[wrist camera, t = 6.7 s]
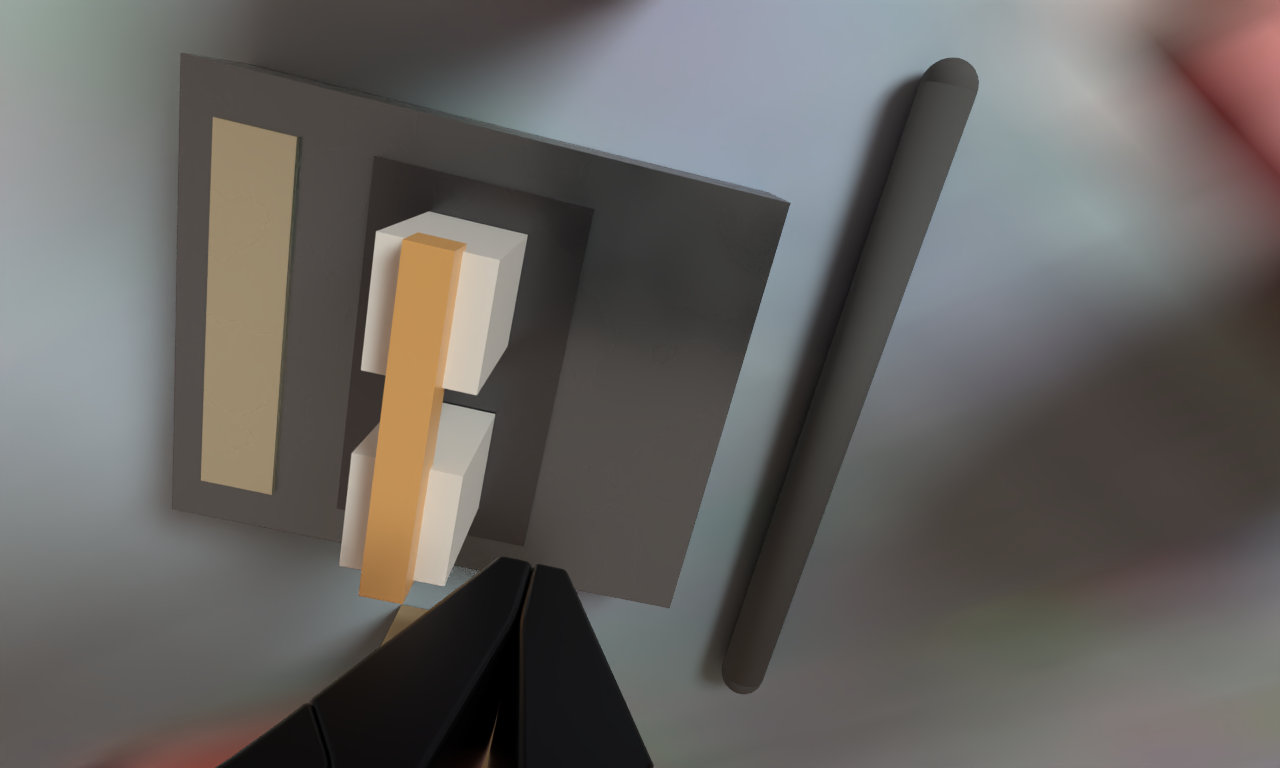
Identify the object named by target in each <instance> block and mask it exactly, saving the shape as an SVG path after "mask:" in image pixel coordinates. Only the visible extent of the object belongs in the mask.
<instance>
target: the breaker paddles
mask: <svg viewBox="0 0 1280 768" xmlns="http://www.w3.org/2000/svg"><path fill="white" fill-rule="evenodd" d="M527 237H528V235H527V234H523V233H518V232H514V231H510V230H506V229H501V228H497V227H493V226H489V225H485V224H480V223H476V222H472V221H468V220H463V219H459V218H455V217H451V216H446V215H442V214H438V213H434V212H430V211H429V212H426V213H423V214H421V215H418V216H415V217H413V218H410V219H408V220H405V221H402V222H400V223H397V224H394V225H392V226H389V227H386V228H384V229H381V230H378V231H376V237H375V246H374V255H373V264H372V273H371V282H370V291H369V300H368V309H367V318H366V328H365V337H364V346H363V355H362V364H361V370H362V371H367V372H372V373H376V374H381V375H385V376H386V377H385V385H384V394H383V402H382V410H381V418H380V422H379V423H378V424H377V426H376V427H375V428H374V429H373V430H372V431H371V432H370V433H369V434H368V436H367V437H366V438H365V439H364V440H363V441H362V442H361V443H360V444H359V446H358V447H357V448H356V449H355V450H354V451H353V452H352V454H351V464H350V473H349V482H348V491H347V500H346V509H345V518H344V527H343V536H342V545H341V554H340V563H339V566H343V567H349V568H354V569H359V570H362V573H361V581H360V589H359V596H363V597H368V598H373V599H378V600H383V601H388V602H394V603H399V604H403V602H404V600H405V598H406V596H407V594H408V592H409V590H410V588H411V586H412V584H413V583H414V581H419V582H425V583H430V584H435V585H440V586H445V584H446V582H447V579H448V577H449V575H450V572H451V570H452V568H453V566H454V563H455V561H456V559H457V556H458V554H459V552H460V549H461V547H462V545H463V542H464V540H465V538H466V536H467V533H468V531H469V529H470V526H471V524H472V522H473V519H474V517H475V515H476V513H477V510H478V508H479V502H480V497H481V491H482V485H483V480H484V474H485V469H486V463H487V458H488V452H489V447H490V441H491V436H492V430H493V425H494V419H495V414H492V413H488V412H483V411H479V410H474V409H469V408H465V407H460V406H455V405H451V404H446V403H443V396H444V390H445V389H449V390H454V391H459V392H463V393H468V394H472V395H477V394H478V393H479V391H480V390H481V388H482V386H483V385H484V383H485V382H486V380H487V378H488V377H489V375H490V374H491V372H492V370H493V369H494V367H495V366H496V364H497V362H498V361H499V359H500V358H501V356H502V354H503V353H504V351H505V350H506V348H507V346H508V342H509V336H510V331H511V325H512V320H513V314H514V309H515V303H516V298H517V292H518V286H519V281H520V275H521V270H522V264H523V259H524V253H525V248H526V242H527Z"/></svg>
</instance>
